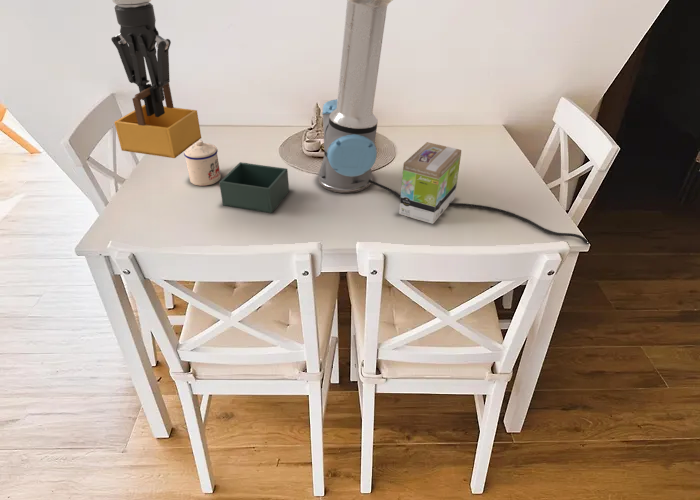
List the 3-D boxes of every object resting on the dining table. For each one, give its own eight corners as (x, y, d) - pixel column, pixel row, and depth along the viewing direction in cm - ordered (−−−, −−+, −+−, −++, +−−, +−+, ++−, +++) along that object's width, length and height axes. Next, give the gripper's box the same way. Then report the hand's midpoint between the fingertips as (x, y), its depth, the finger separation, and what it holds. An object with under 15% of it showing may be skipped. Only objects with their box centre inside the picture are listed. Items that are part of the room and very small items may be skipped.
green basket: (289, 191, 148) (287, 168, 144) (271, 213, 139) (269, 189, 135) (242, 184, 151) (239, 162, 147) (222, 205, 142) (219, 182, 138)
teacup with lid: (215, 187, 150) (209, 148, 143) (184, 185, 151) (176, 147, 144) (228, 168, 160) (223, 131, 153) (199, 166, 161) (192, 129, 154)
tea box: (434, 225, 134) (440, 171, 125) (398, 215, 138) (401, 162, 129) (455, 199, 145) (462, 148, 136) (421, 190, 149) (425, 140, 140)
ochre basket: (201, 138, 131) (192, 81, 123) (174, 158, 121) (163, 99, 114) (151, 131, 134) (139, 76, 126) (121, 150, 125) (106, 92, 117)
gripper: (174, 2, 111) (192, 112, 125) (114, -3, 115) (138, 105, 128) (153, 9, 105) (175, 124, 119) (91, 4, 109) (118, 116, 122)
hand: (156, 114), depth 124 cm, fingers closed on ochre basket
